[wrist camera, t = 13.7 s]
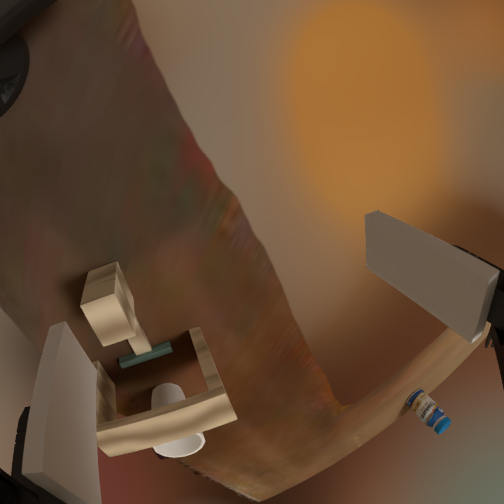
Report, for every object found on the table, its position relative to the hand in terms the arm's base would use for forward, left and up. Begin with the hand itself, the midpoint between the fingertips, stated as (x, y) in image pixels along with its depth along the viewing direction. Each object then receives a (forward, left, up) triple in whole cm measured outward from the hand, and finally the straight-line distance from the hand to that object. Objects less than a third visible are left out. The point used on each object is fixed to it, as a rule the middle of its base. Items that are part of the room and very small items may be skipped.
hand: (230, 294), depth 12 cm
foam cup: (+41, -14, -35) cm, 55 cm away
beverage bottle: (+99, +60, -35) cm, 121 cm away
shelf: (+30, -13, -35) cm, 48 cm away
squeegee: (+20, -13, -35) cm, 42 cm away
